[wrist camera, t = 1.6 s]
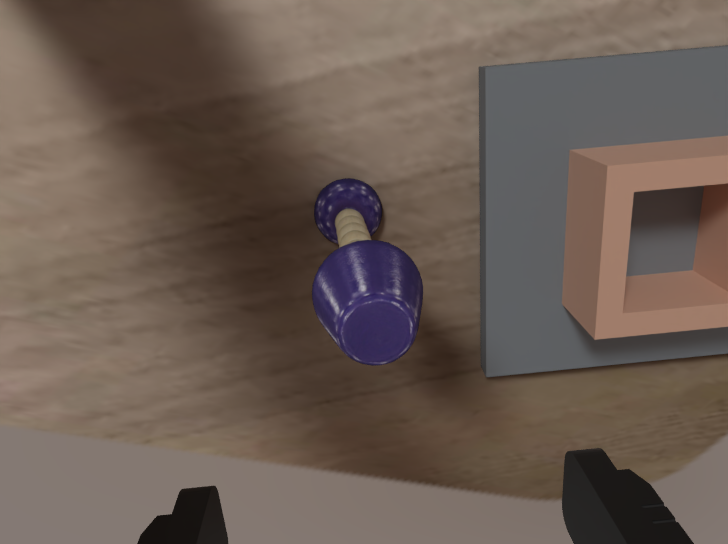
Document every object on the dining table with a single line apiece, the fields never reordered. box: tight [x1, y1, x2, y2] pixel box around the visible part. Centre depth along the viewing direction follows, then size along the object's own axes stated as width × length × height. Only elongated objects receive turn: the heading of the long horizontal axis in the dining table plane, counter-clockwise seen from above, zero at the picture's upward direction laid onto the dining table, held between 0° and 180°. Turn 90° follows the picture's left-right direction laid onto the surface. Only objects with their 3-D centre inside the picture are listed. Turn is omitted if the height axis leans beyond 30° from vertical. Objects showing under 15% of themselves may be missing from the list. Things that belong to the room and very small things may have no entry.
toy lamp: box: [312, 179, 423, 365], centre depth 29 cm, size 5×5×17 cm
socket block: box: [479, 45, 728, 377], centre depth 34 cm, size 20×20×6 cm
